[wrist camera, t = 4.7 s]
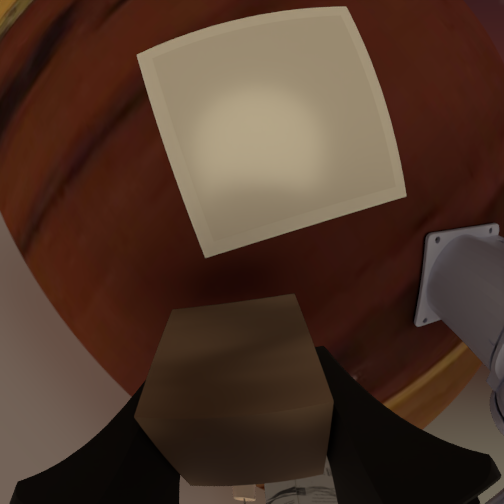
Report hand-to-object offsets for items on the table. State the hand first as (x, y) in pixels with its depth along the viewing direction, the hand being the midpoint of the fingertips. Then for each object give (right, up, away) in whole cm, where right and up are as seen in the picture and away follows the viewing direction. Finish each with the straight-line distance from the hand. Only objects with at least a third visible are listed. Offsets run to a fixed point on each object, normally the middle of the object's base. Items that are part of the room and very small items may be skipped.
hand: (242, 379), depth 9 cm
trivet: (+2, +12, +5) cm, 13 cm away
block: (0, +1, +2) cm, 2 cm away
